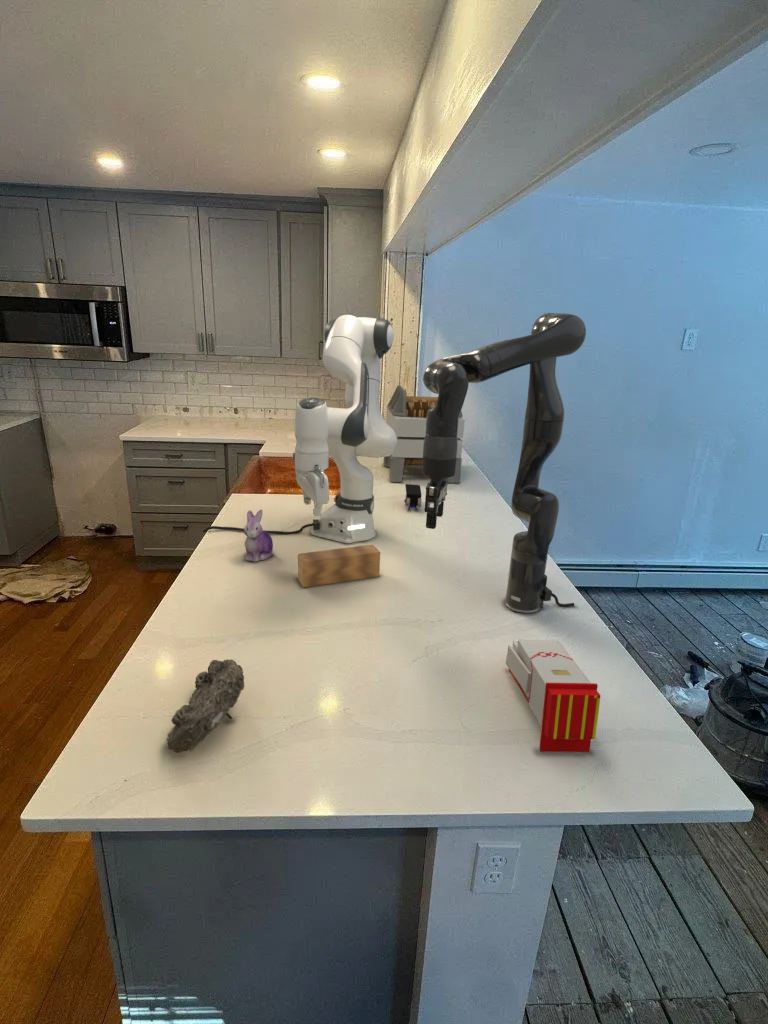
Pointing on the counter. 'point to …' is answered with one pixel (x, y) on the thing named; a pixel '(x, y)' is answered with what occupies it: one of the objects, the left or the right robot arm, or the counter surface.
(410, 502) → the figurine character
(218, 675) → the fossil
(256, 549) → the figurine
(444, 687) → the counter surface
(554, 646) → the toy
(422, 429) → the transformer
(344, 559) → the bar
